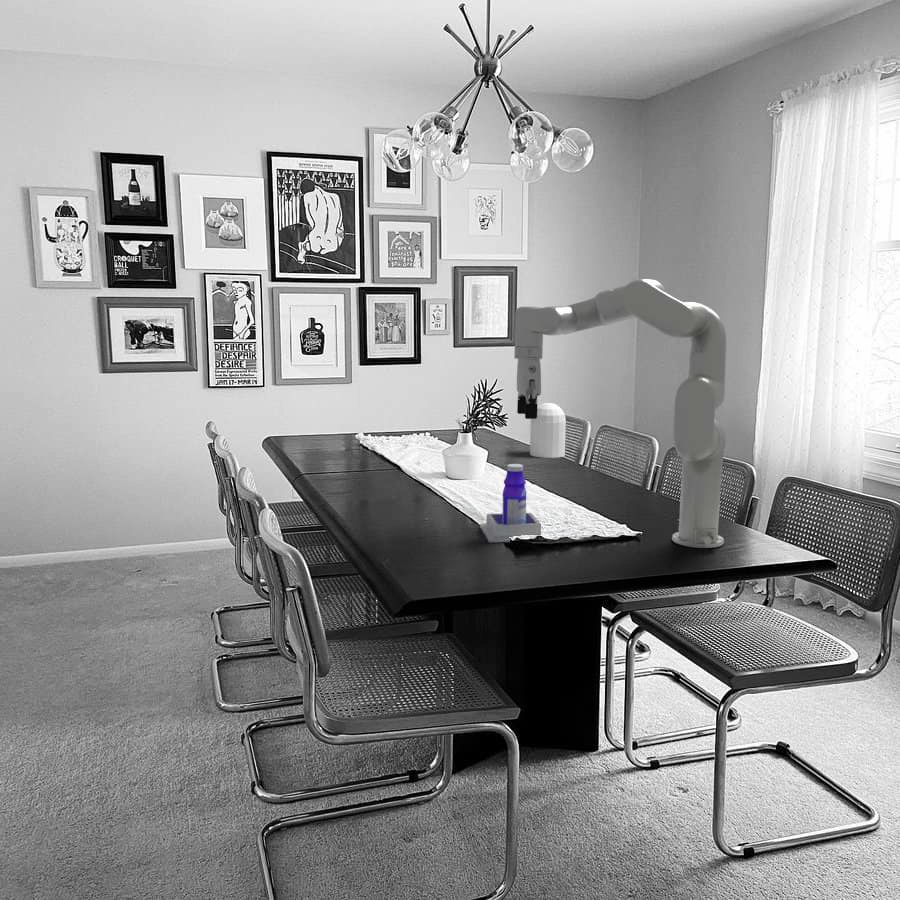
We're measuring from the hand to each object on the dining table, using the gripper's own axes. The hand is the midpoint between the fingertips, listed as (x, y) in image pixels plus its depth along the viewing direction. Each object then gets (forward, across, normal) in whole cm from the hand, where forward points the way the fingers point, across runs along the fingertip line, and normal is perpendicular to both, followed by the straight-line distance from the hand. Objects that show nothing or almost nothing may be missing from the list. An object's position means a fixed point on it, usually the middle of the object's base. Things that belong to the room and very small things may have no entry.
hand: (526, 416), depth 252 cm
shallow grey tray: (+28, -17, +7) cm, 34 cm away
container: (+29, +96, -30) cm, 104 cm away
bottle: (+28, -17, +7) cm, 33 cm away
